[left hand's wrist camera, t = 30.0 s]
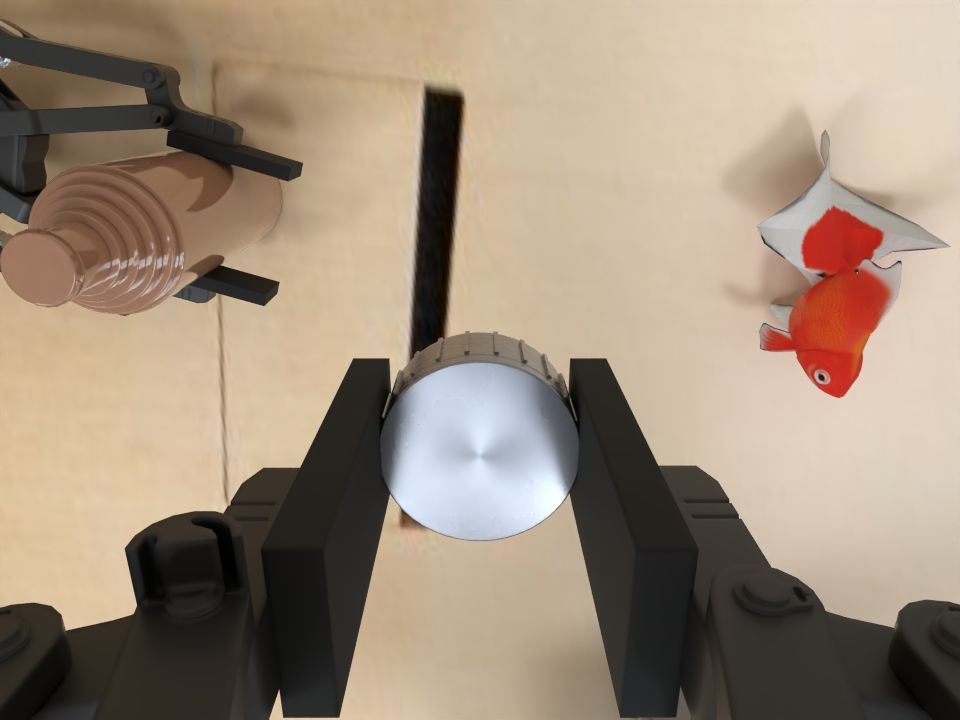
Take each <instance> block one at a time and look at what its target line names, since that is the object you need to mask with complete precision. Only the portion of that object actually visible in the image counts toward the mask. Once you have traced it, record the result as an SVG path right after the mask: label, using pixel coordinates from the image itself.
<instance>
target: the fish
mask: <svg viewBox="0 0 960 720" xmlns="http://www.w3.org/2000/svg"><path fill="white" fill-rule="evenodd" d="M829 145H830V140H829V137H828V134H827V132H826V130H825V131H824V132H823V133H822V137H821V156H822V159H823V161H824V164H825V167H826V168H825V169H824V171H823V172H822V173H821V175H820V176H819V177H818V179H817V180H816V181H815V183H814V184H813V185H812V186H811V187H810V188H809V189H808V190H807V191H806V192H804V193H803V194H802V195H801V196H800V197H799V198H798V199H797V200H796V201H794V202H793V203H791V204H790V205H788V206H787V207H785V208H784V209H782V210H781V211H779V212H778V213H776V214H774V215H773V216H771V217H770V218H768V219H767V220H765V221H764V222H762V223H761V224H759V225H758V226H757V228H758V230H759V232H760V235H761V237H762V239H763V242H764V244H766V245H767V246H768V247H770V248H771V249H772V250H774V251H775V252H776V253H778V254H779V255H780V256H782V257H783V258H785V259H786V260H788V261H789V262H791V263H792V264H793V265H794V266H795V267H796V268H797V269H798V270H799V271H800V272H801V273H802V274H803V275H804V276H805V278H806V279H807V280H808V282H809V283H810V286H811V288H809V289H808V290H807V291H806V292H805V293H803V294H802V296H801V297H800V298H799V299H798V301H797V302H796V304H795V305H794V307H793V306H790V305H778V304H771V305H770V310H771V312H772V313H773V314H774V315H775V317H776V318H777V319H778V320H779V321H780V322H781V324H782V325H783V326H784V327H785V328H786V329H788V330H789V332H786V331H783V330H780V329H777V328H774V327H772V326H770V325H768V324H766V323H763V324H762V326H761V329H760V331H759V333H760V340H761V342H760V349H762V350H766V351H772V352H780V351H795V352H796V354H797V359H798V361H799V363H800V364H801V366H802V368H803V369H804V371H805V373H806V374H807V376H808V377H809V378H810V380H811V381H812V383H813V384H815V385H816V386H817V387H818V388H819V389H821V390H822V391H824V392H825V393H827V394H829V395H832V396H834V397H837V398H840V397H843V396H844V395H845V394H846V392H847V391H848V390H849V388H850V387H851V385H852V384H853V383H854V381H855V380H856V379H857V377H858V376H859V373H860V371H861V367H862V361H863V349H864V347H865V345H866V343H867V340H868V338H869V336H870V334H871V333H872V332H873V331H874V330H875V329H876V328H877V327H878V325H879V324H880V323H881V321H882V320H883V319H884V317H885V316H886V314H887V313H888V311H889V310H890V308H891V307H892V305H893V303H894V302H895V300H896V298H897V297H898V292H899V287H900V282H901V265H902V263H901V261H897V262H896V263H895V264H894V265H892V266H891V267H889V268H881V267H879V266H877V265H876V264H875V263H874V262H873V261H875V260H878V259H880V258H882V257H884V256H885V255H887V254H889V253H891V252H897V251H912V250H927V249H936V248H945V247H951V246H949V245H948V244H946V243H945V242H943V241H942V240H940V239H939V238H937V237H935V236H934V235H932V234H931V233H929V232H928V231H926V230H925V229H923V228H922V227H920V226H919V225H917V224H915V223H913V222H911V221H909V220H907V219H905V218H903V217H901V216H899V215H897V214H895V213H893V212H891V211H889V210H887V209H885V208H883V207H880V206H878V205H876V204H874V203H872V202H870V201H868V200H866V199H864V198H862V197H860V196H858V195H856V194H854V193H852V192H851V191H849V190H848V189H846V188H844V187H843V186H841V185H840V184H838V183H837V182H835V181H833V180H832V179H831V177H830V159H829ZM857 272H858V275H857V274H856V273H857Z"/></svg>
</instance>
